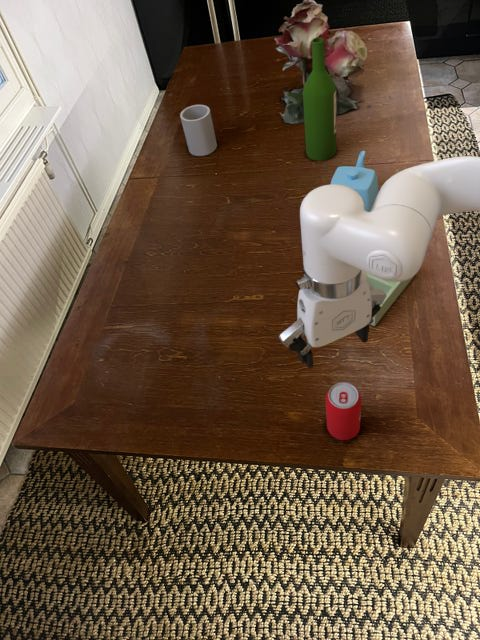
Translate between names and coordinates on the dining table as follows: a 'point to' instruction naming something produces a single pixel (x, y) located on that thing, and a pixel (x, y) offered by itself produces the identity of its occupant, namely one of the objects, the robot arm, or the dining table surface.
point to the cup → (198, 130)
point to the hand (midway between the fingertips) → (333, 348)
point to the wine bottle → (319, 108)
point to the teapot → (359, 181)
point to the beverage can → (343, 411)
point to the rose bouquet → (339, 56)
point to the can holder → (389, 289)
